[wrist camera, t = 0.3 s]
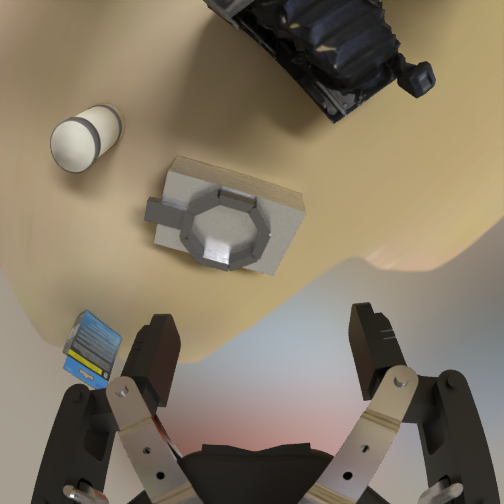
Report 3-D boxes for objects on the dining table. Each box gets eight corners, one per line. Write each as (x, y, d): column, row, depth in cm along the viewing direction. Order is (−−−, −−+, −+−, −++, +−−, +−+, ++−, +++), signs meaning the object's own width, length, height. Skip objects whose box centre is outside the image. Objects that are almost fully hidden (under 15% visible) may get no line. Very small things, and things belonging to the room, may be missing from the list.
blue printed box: (77, 315, 48) (53, 370, 38) (86, 309, 47) (61, 367, 37) (112, 342, 53) (94, 396, 43) (123, 337, 51) (105, 394, 41)
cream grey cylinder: (87, 99, 26) (51, 116, 20) (129, 106, 27) (99, 124, 21) (82, 142, 29) (49, 167, 23) (121, 151, 30) (93, 178, 24)
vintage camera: (318, 118, 28) (408, 234, 13) (207, 11, 21) (140, -44, 5) (387, 66, 24) (538, 128, 8) (285, -47, 17) (348, -153, 1)
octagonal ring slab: (166, 152, 30) (150, 173, 26) (301, 193, 33) (308, 220, 29) (152, 220, 35) (139, 248, 31) (272, 254, 38) (273, 284, 34)
